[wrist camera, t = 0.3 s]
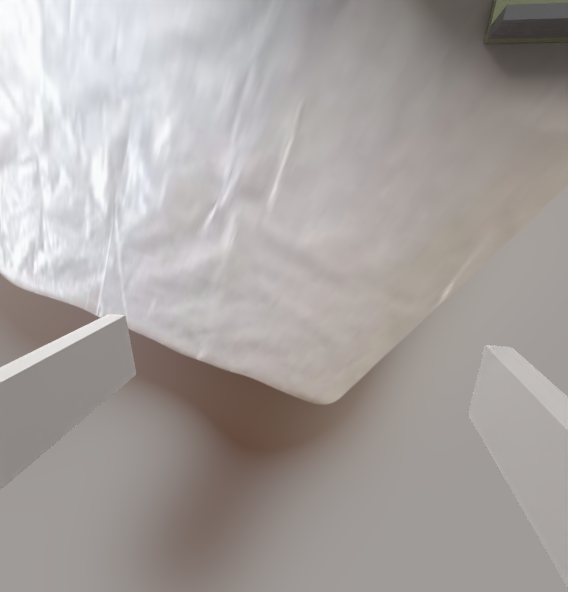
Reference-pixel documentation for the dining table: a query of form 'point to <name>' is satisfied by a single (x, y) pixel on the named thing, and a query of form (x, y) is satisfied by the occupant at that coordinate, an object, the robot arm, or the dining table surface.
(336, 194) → the dining table surface
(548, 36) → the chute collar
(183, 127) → the dining table surface
